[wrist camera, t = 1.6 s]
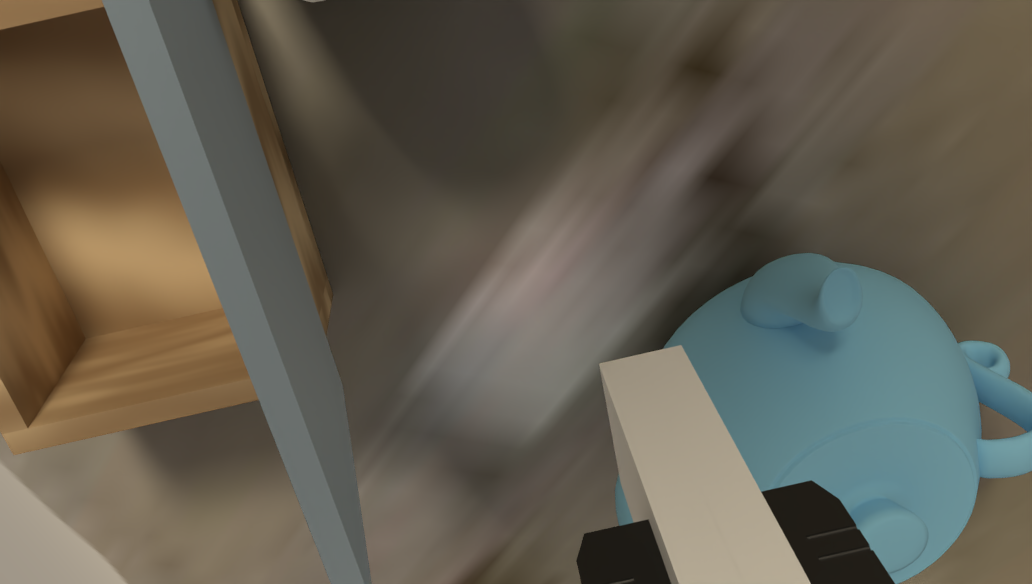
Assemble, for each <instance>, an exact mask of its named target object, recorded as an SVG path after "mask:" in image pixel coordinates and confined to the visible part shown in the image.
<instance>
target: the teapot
mask: <svg viewBox="0 0 1032 584" xmlns="http://www.w3.org/2000/svg"><path fill="white" fill-rule="evenodd" d="M679 345H682V347H683V349H684V351H685V353H686V355H687V356H688V358H689V360H690V362H691V364H692V366H693V367H694V369H695V371H696V373H697V375H698V377H699V379H700V380H701V382H702V384H703V386H704V388H705V390H706V391H707V393H708V395H709V397H710V399H711V401H712V402H713V404H714V406H715V408H716V410H717V412H718V414H719V415H720V417H721V419H722V421H723V423H724V425H725V426H726V428H727V430H728V432H729V434H730V436H731V437H732V439H733V441H734V443H735V445H736V447H737V448H738V450H739V452H740V454H741V456H742V458H743V460H744V461H745V463H746V465H747V467H748V469H749V471H750V472H751V474H752V476H753V478H754V480H755V482H756V483H757V485H758V487H759V489H760V491H761V492H762V491H766V490H771V489H775V488H780V487H784V486H788V485H793V484H797V483H802V482H806V481H810V480H812V481H814V482H815V483H816V484H818V485H819V486H821V487H822V488H824V489H825V490H827V491H828V492H830V493H831V494H833V495H834V496H836V497H837V498H839V499H840V501H841V502H842V504H843V505H844V507H845V508H846V510H847V511H848V513H849V514H850V516H851V517H852V519H853V520H854V522H855V524H856V527H857V529H859V530H860V531H861V533H862V534H863V536H864V537H865V539H866V540H867V542H868V543H869V545H870V549H871V550H873V551H874V552H875V554H876V555H877V557H878V558H879V560H880V562H881V563H882V565H883V566H884V568H885V569H886V571H887V572H888V574H889V575H890V577H891V578H892V580H893V581H894V583H895V584H899V583H901V582H903V581H905V580H907V579H909V578H911V577H913V576H915V575H916V574H918V573H920V572H921V571H923V570H924V569H926V568H927V567H928V566H930V565H931V564H932V563H934V562H935V561H936V560H937V559H938V558H940V557H941V556H942V555H943V554H944V553H945V552H946V551H947V550H948V549H949V547H950V546H951V545H952V544H953V543H954V542H955V540H956V539H957V538H958V537H959V535H960V534H961V532H962V530H963V529H964V527H965V526H966V524H967V522H968V520H969V518H970V516H971V513H972V510H973V507H974V504H975V500H976V495H977V490H978V485H979V479H980V477H983V478H1006V477H1015V476H1018V475H1022V474H1025V473H1028V472H1030V471H1032V392H1030V391H1029V390H1027V389H1025V388H1024V387H1022V386H1020V385H1019V384H1017V383H1015V382H1013V381H1011V380H1009V379H1008V376H1009V374H1010V362H1009V360H1008V357H1007V355H1006V354H1005V352H1004V351H1003V350H1002V349H1001V348H1000V347H998V346H997V345H994V344H992V343H988V342H982V341H963V342H959V343H957V341H956V339H955V337H954V336H953V334H952V332H951V331H950V329H949V328H948V326H947V325H946V323H945V322H944V320H943V319H942V318H941V317H940V315H939V314H938V313H937V312H936V310H935V309H934V308H933V307H932V306H931V305H930V304H929V303H928V302H927V301H926V300H925V299H924V298H923V297H922V296H921V295H919V294H918V293H917V292H916V291H915V290H914V289H913V288H912V287H910V286H908V285H907V284H905V283H904V282H902V281H900V280H899V279H897V278H895V277H893V276H891V275H888V274H886V273H884V272H881V271H879V270H875V269H872V268H868V267H864V266H860V265H855V264H848V263H840V262H834V261H832V260H831V259H829V258H828V257H826V256H823V255H820V254H814V253H801V254H792V255H789V256H785V257H782V258H779V259H776V260H774V261H772V262H770V263H768V264H766V265H765V266H763V267H762V268H761V269H759V270H758V271H757V272H756V273H755V274H754V275H753V276H752V277H749V278H747V279H745V280H743V281H741V282H739V283H737V284H735V285H733V286H731V287H729V288H727V289H725V290H724V291H722V292H721V293H719V294H718V295H716V296H715V297H713V298H712V299H710V300H709V301H707V302H706V303H705V304H704V305H702V306H701V307H700V308H699V309H698V310H696V311H695V312H694V313H693V314H692V315H691V316H690V317H689V318H688V319H687V320H686V321H685V322H684V323H683V324H682V325H681V326H680V327H679V328H678V329H677V330H676V332H675V333H674V334H673V335H672V337H671V338H670V339H669V341H668V342H667V343H666V345H665V346H664V348H663V349H666V348H670V347H675V346H679ZM979 402H981V403H982V404H984V405H986V406H988V407H990V408H991V409H993V410H995V411H997V412H998V413H1000V414H1002V415H1004V416H1005V417H1007V418H1009V419H1010V420H1012V421H1014V422H1015V423H1017V424H1018V425H1019V426H1021V427H1022V428H1023V429H1025V430H1026V431H1027V433H1024V434H1022V435H1019V436H1015V437H1011V438H1004V439H994V440H983V439H981V429H982V428H981V417H980V408H979ZM615 502H616V512H617V517H618V523H619V526H621V525H625V524H630V523H634V522H633V519H632V516H631V513H630V510H629V507H628V504H627V501H626V498H625V495H624V492H623V489H622V486H621V482H620V477H619V474H618V478H617V483H616V488H615Z"/></svg>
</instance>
